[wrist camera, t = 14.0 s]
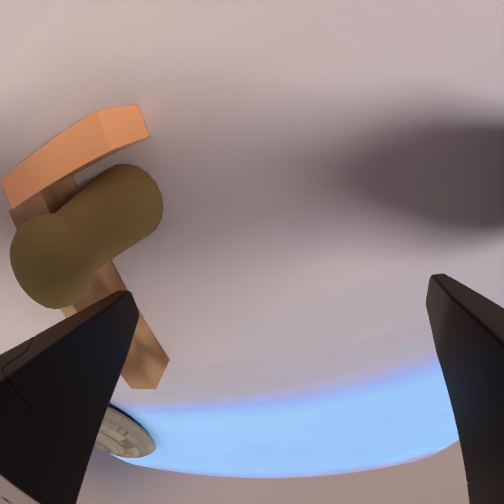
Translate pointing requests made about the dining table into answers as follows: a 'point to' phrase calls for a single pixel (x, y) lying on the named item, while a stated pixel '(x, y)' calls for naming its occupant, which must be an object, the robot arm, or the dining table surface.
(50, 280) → the cork
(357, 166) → the dining table surface
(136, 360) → the guide rail
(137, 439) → the flying saucer
